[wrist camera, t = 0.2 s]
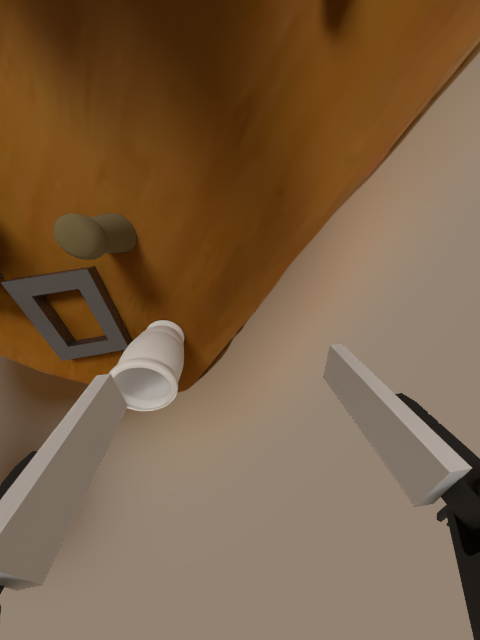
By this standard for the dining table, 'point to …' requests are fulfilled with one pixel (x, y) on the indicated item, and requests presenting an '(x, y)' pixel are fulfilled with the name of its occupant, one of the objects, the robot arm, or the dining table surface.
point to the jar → (151, 367)
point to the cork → (94, 235)
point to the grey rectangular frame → (49, 323)
